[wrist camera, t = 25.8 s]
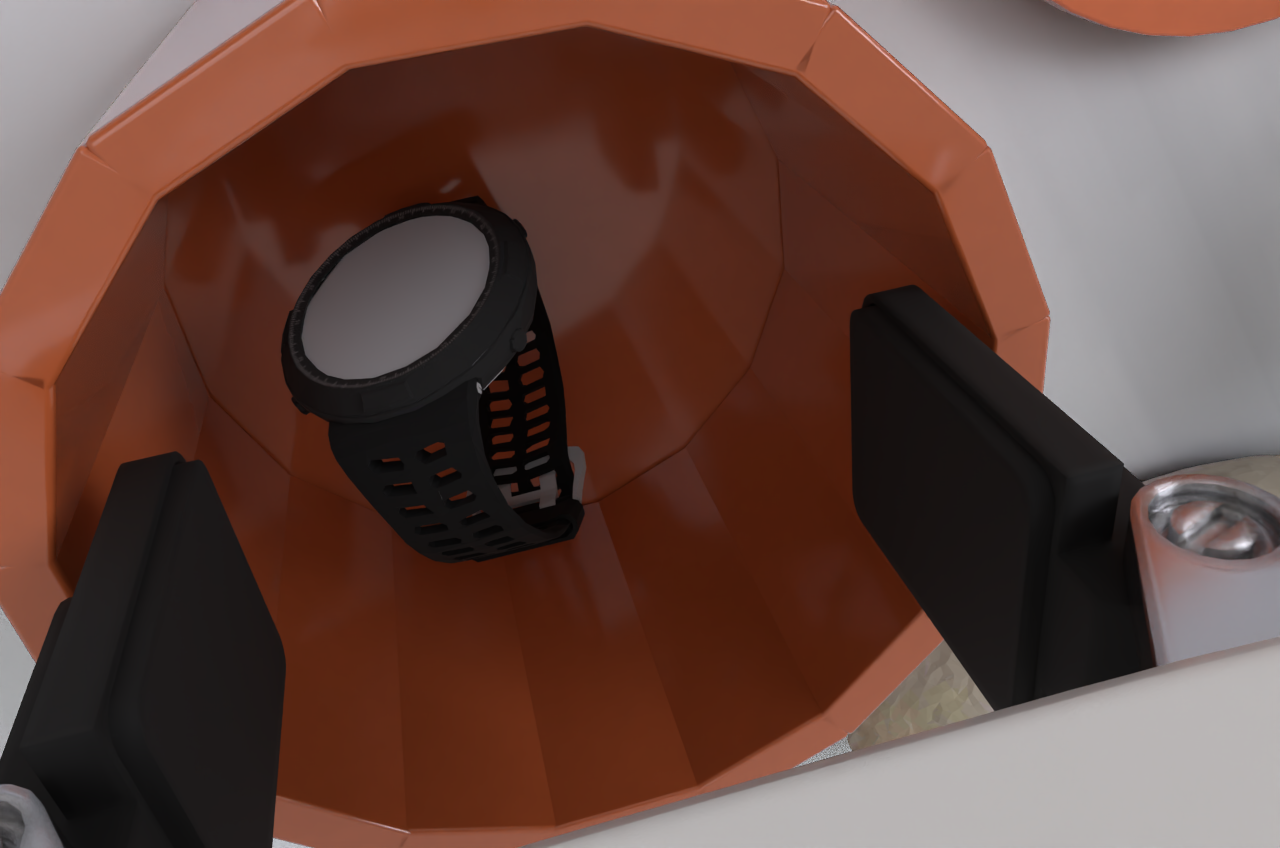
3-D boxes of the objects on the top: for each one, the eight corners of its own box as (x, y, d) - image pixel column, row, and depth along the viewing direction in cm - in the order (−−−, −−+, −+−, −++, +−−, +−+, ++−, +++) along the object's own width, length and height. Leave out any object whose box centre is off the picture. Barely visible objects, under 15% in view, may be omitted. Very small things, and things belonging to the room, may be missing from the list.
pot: (-16, -40, 14) (-329, 93, 7) (793, -171, 15) (1102, -154, 9) (260, 597, 20) (218, 962, 14) (818, 459, 21) (1010, 730, 15)
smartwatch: (595, 147, 15) (576, 355, 11) (593, 412, 19) (578, 639, 15) (313, 137, 15) (201, 343, 11) (364, 405, 18) (290, 631, 15)
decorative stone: (1385, 526, 27) (1507, 611, 24) (846, 766, 27) (905, 881, 24) (1405, 336, 24) (1550, 409, 21) (788, 610, 23) (849, 722, 20)
